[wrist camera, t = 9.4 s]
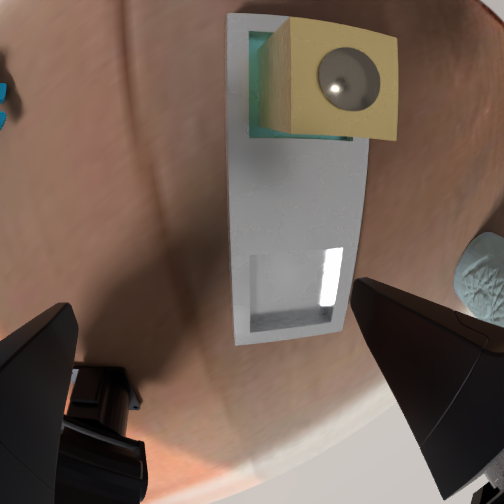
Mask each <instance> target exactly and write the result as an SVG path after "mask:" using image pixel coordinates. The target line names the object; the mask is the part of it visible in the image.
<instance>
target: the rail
mask: <svg viewBox="0 0 504 504" xmlns="http://www.w3.org/2000/svg"><path fill="white" fill-rule="evenodd" d="M288 18H289V16H279V15H266V14H247V13H227V16H226V20H225V149H226V191H227V223H228V251H229V275H230V297H231V317H232V331H233V337H234V343H235V346H236V345H246V344H255V343H264V342H272V341H280V340H288V339H295V338H302V337H309V336H315V335H321V334H327V333H333V332H339V331H342V328H343V324H344V319H345V314H346V310H347V305H348V300H349V295H350V289H351V284H352V278H353V273H354V267H355V261H356V255H357V248H358V242H359V235H360V228H361V220H362V212H363V204H364V195H365V186H366V175H367V164H368V151H369V138H360V137H347V136H331V135H308V134H289V133H285V132H281V131H276V130H272V129H268V128H263V127H259V119H258V49H259V48H260V47H261V46H262V44H263V43H264V42H265V41H266V40H267V39H268V38H269V37H270V36H271V35H272V34H273V33H274V32H275V31H276V30H277V29H278V28H279V27H280V26H281V25H282V24H283V23H284V22H285V21H286V20H287V19H288Z"/></svg>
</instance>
